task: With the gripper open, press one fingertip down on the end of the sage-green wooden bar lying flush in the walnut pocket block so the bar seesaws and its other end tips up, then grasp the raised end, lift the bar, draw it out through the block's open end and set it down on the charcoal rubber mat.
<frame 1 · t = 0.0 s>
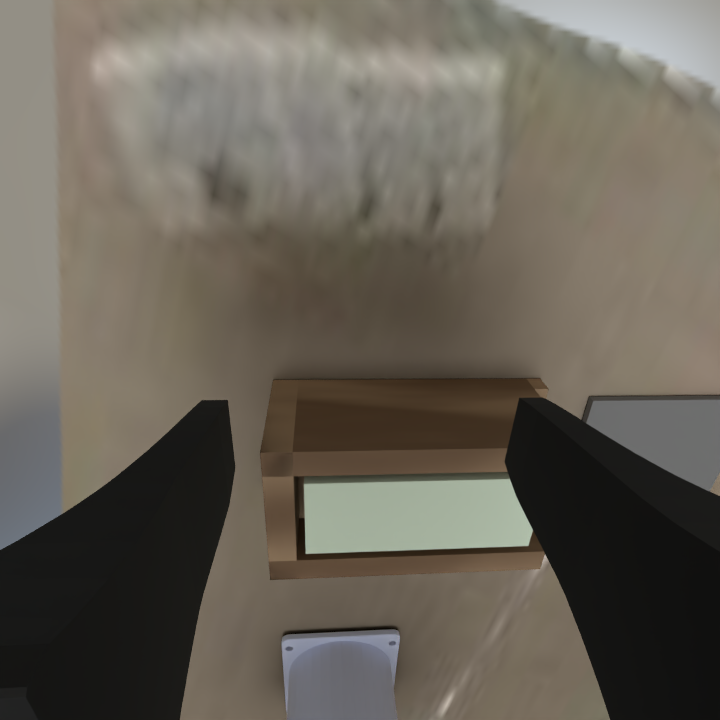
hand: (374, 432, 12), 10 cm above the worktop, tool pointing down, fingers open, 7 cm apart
sage bar: (413, 477, 22), point 3 cm above the worktop, touching pocket block
mat: (643, 462, 27), on the worktop
pocket block: (403, 438, 24), on the worktop
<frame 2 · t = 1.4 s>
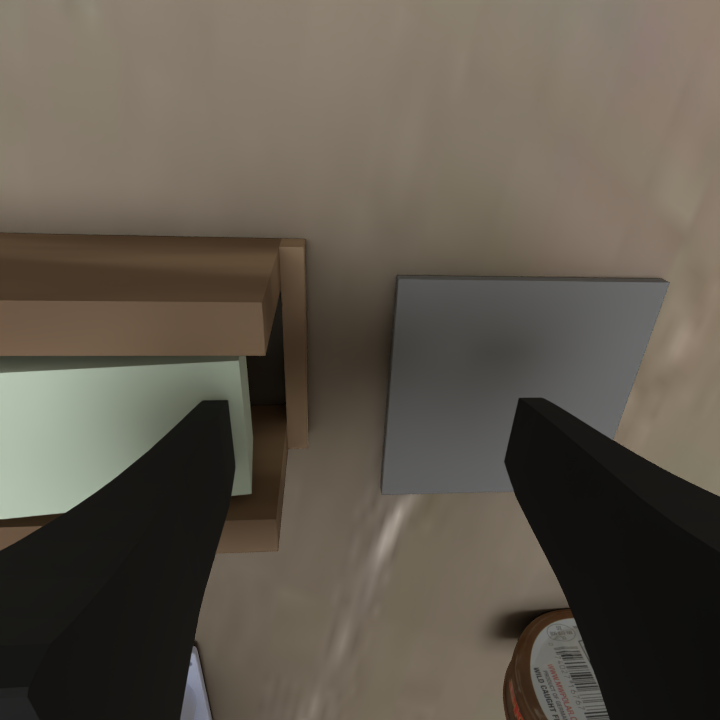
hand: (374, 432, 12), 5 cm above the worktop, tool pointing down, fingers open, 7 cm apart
sage bar: (59, 394, 13), point 3 cm above the worktop, tilted 6°, touching pocket block
mat: (507, 393, 17), on the worktop
pocket block: (104, 345, 15), on the worktop
tin: (620, 611, 25), on the worktop
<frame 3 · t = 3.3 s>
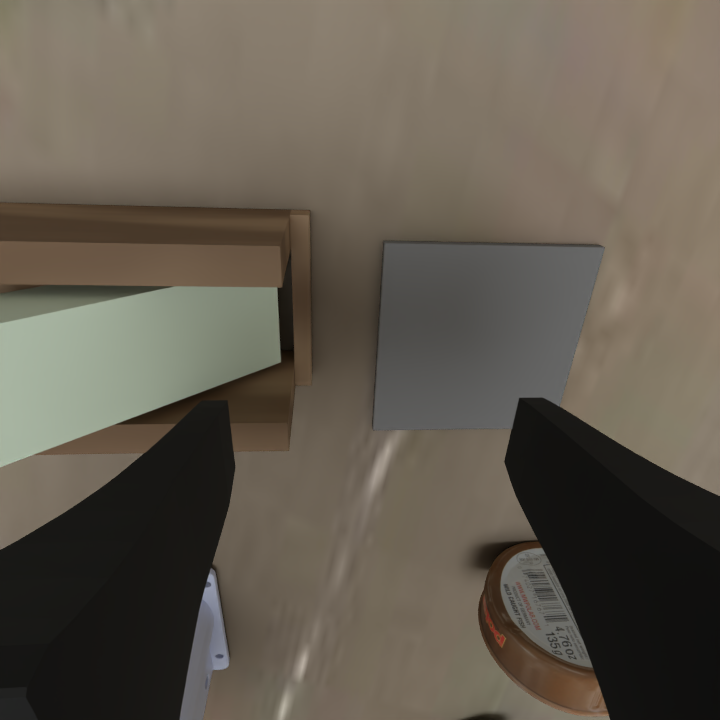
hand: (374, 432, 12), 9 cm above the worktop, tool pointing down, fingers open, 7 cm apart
sage bar: (118, 330, 16), point 3 cm above the worktop, tilted 40°, touching pocket block
mat: (476, 342, 21), on the worktop
pocket block: (147, 297, 19), on the worktop
tin: (583, 546, 29), on the worktop
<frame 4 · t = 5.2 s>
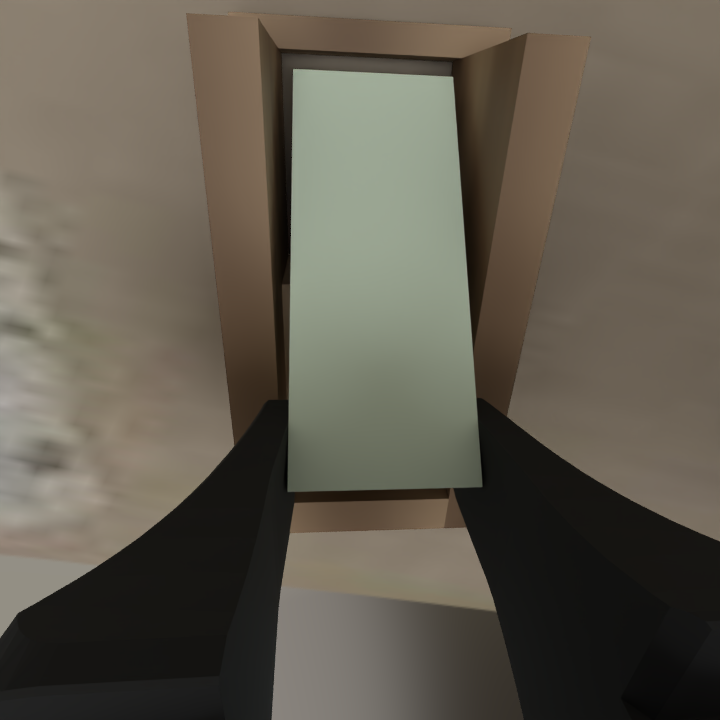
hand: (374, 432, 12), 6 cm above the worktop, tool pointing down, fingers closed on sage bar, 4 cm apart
sage bar: (369, 296, 13), point 3 cm above the worktop, tilted 40°, touching gripper, pocket block
pocket block: (360, 264, 16), on the worktop
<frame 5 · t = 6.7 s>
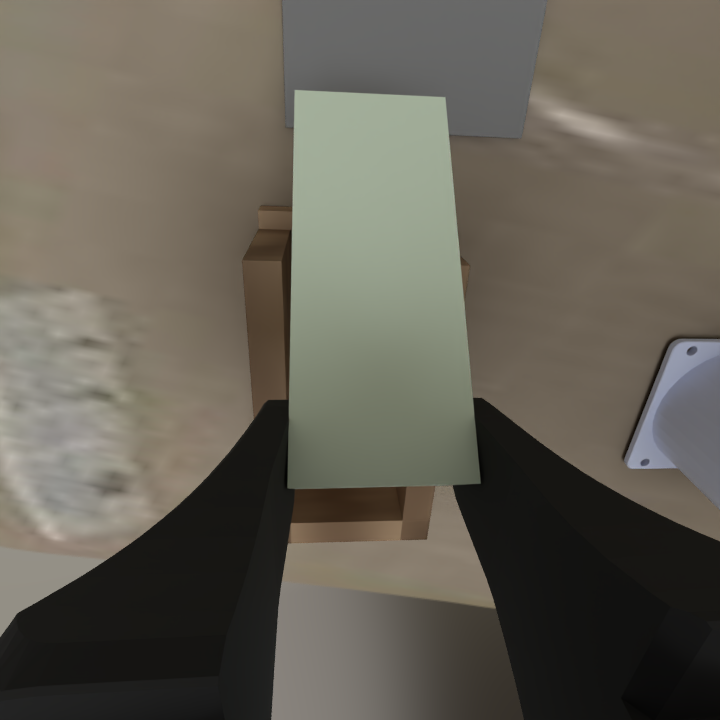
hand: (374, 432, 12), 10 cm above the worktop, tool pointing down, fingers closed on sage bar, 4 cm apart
sage bar: (367, 304, 13), point 7 cm above the worktop, tilted 44°, touching gripper
pocket block: (345, 352, 22), on the worktop
when the fingers open (7 cm above the worktop, at t = 8.4 s): sage bar drops 4 cm, resting on mat.
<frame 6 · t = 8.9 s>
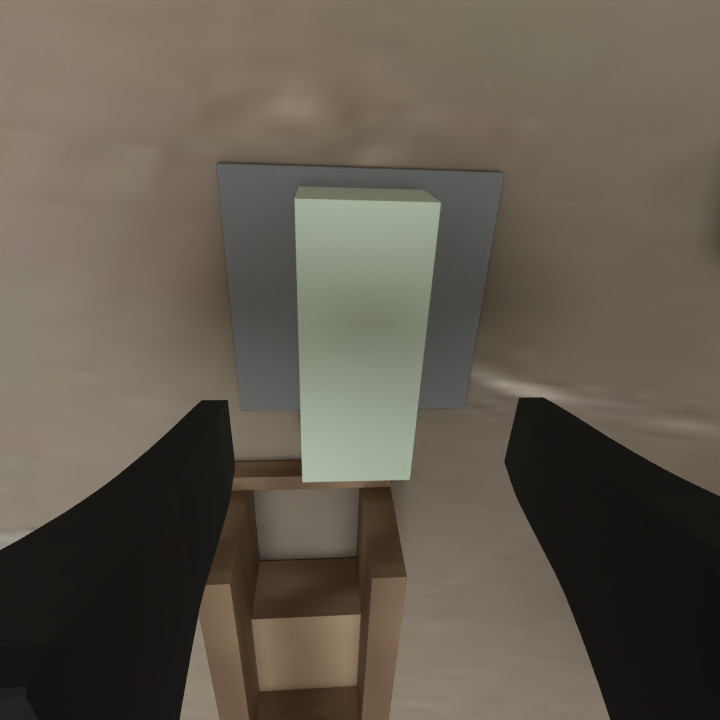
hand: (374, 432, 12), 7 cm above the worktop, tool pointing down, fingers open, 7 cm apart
sage bar: (356, 331, 17), resting on mat
mat: (357, 300, 17), on the worktop
pocket block: (308, 563, 23), on the worktop
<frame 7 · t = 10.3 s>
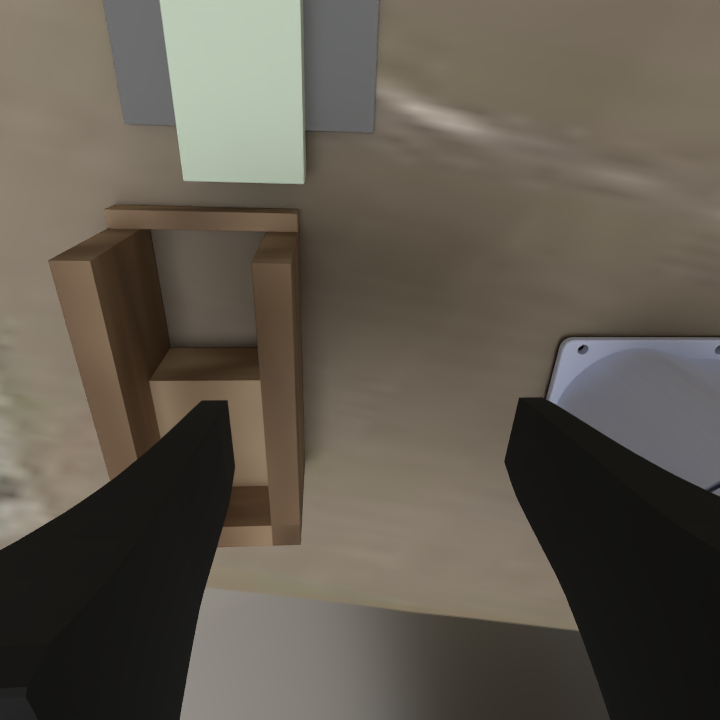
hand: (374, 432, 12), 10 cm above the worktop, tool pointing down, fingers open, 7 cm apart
sage bar: (242, 13, 16), resting on mat
pocket block: (224, 353, 22), on the worktop
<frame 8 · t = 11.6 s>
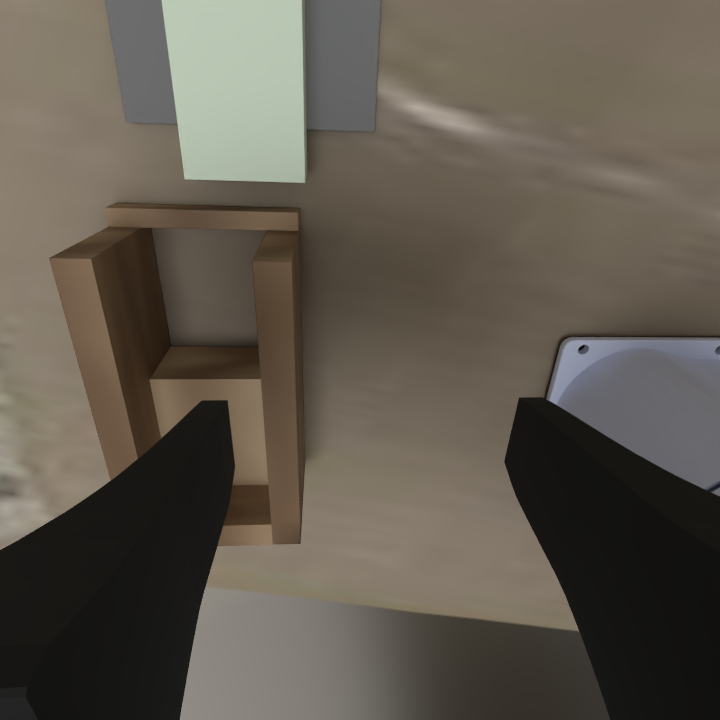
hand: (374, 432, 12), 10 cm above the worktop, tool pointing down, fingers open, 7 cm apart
sage bar: (244, 12, 16), resting on mat
pocket block: (224, 352, 22), on the worktop
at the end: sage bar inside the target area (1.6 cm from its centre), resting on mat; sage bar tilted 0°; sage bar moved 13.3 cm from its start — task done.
